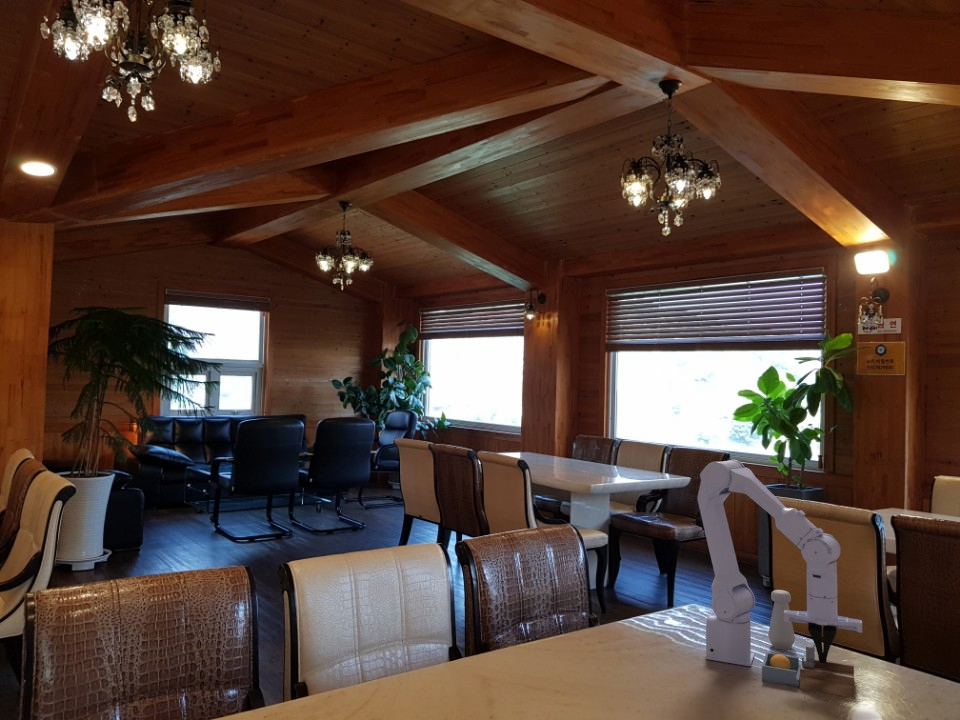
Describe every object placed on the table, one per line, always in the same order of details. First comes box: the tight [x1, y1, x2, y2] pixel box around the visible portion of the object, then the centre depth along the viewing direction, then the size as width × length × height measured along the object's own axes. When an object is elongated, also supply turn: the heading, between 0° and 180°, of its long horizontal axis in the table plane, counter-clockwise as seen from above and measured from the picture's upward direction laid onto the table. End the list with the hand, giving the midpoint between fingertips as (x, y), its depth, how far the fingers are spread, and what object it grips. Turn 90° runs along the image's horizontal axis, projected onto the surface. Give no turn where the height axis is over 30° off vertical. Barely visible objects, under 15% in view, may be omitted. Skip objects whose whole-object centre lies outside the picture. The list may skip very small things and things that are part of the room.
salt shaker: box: [767, 589, 796, 651], centre depth 169 cm, size 6×6×13 cm
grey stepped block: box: [803, 640, 816, 670], centre depth 149 cm, size 2×5×5 cm, turn 153°
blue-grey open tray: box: [761, 652, 802, 688], centre depth 151 cm, size 7×9×3 cm
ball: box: [770, 653, 791, 670], centre depth 151 cm, size 4×4×4 cm
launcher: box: [799, 655, 856, 699], centre depth 147 cm, size 10×10×4 cm
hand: (822, 661), depth 148 cm, fingers closed
